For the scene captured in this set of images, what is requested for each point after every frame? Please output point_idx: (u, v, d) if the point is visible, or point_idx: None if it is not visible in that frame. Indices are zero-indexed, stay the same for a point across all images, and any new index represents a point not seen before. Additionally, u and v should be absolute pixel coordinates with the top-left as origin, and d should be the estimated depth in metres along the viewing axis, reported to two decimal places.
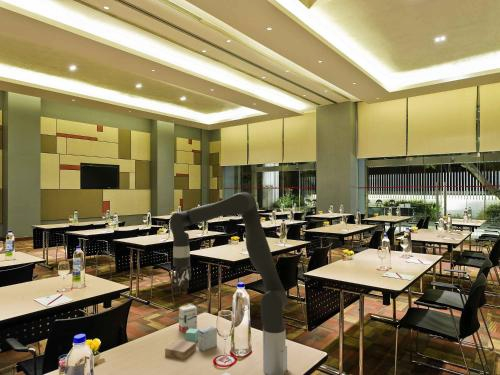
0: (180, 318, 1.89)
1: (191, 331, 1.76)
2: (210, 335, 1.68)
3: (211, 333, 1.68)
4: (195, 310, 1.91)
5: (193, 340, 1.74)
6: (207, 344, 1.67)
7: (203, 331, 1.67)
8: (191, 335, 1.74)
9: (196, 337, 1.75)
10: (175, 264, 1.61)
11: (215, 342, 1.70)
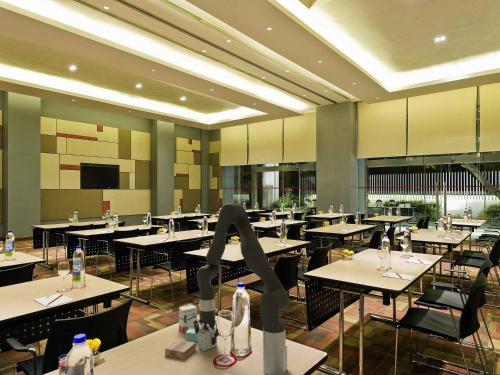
0: (180, 318, 1.89)
1: (191, 331, 1.76)
2: (210, 335, 1.68)
3: None
4: (195, 310, 1.91)
5: (193, 340, 1.74)
6: (207, 344, 1.67)
7: (203, 331, 1.67)
8: (191, 335, 1.74)
9: (196, 337, 1.75)
10: (212, 317, 1.67)
11: None
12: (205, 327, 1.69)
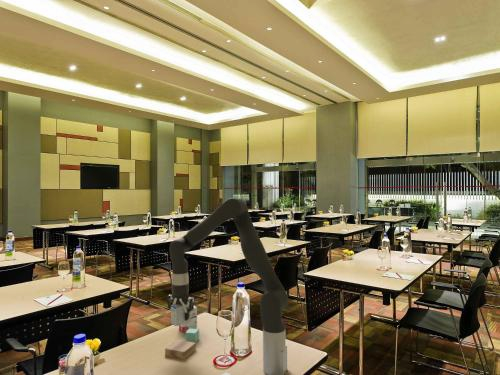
0: None
1: (191, 331, 1.76)
2: (183, 310, 1.63)
3: None
4: (195, 310, 1.91)
5: (193, 340, 1.74)
6: (179, 319, 1.62)
7: (176, 306, 1.62)
8: (191, 335, 1.74)
9: (196, 337, 1.75)
10: (185, 291, 1.62)
11: (189, 318, 1.65)
12: (178, 302, 1.64)
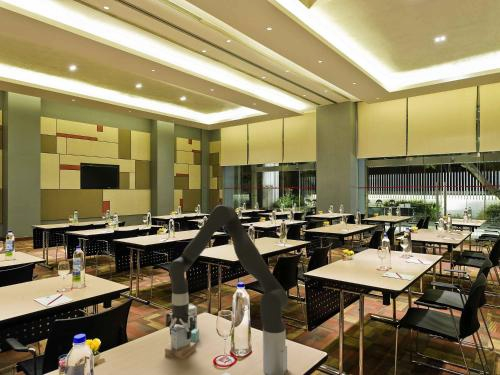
0: None
1: (191, 331, 1.76)
2: (183, 333, 1.63)
3: (184, 331, 1.64)
4: (195, 310, 1.91)
5: (193, 340, 1.74)
6: (180, 342, 1.62)
7: (176, 329, 1.62)
8: None
9: (196, 337, 1.75)
10: (185, 311, 1.62)
11: (188, 340, 1.66)
12: (178, 322, 1.64)
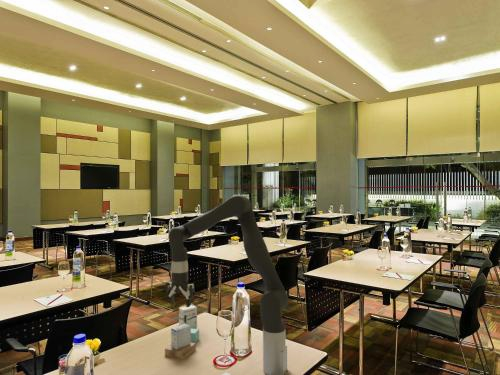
0: (180, 318, 1.89)
1: (191, 331, 1.76)
2: (184, 333, 1.63)
3: (184, 331, 1.64)
4: (195, 310, 1.91)
5: (193, 340, 1.74)
6: (180, 342, 1.62)
7: (176, 329, 1.62)
8: (191, 335, 1.74)
9: (196, 337, 1.75)
10: (184, 279, 1.62)
11: (189, 340, 1.66)
12: (177, 290, 1.64)
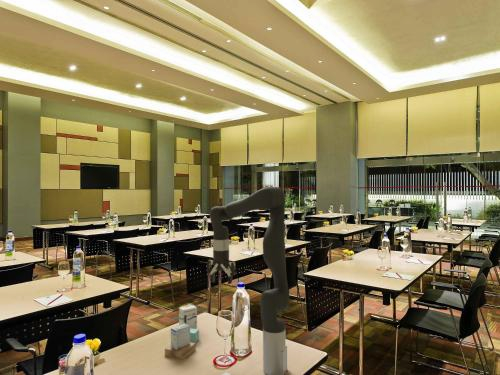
0: (180, 318, 1.89)
1: (191, 331, 1.76)
2: (183, 333, 1.63)
3: (184, 331, 1.64)
4: (195, 310, 1.91)
5: (193, 340, 1.74)
6: (179, 342, 1.62)
7: (176, 329, 1.62)
8: (191, 335, 1.74)
9: (196, 337, 1.75)
10: (226, 256, 1.67)
11: (188, 340, 1.66)
12: (219, 268, 1.69)
